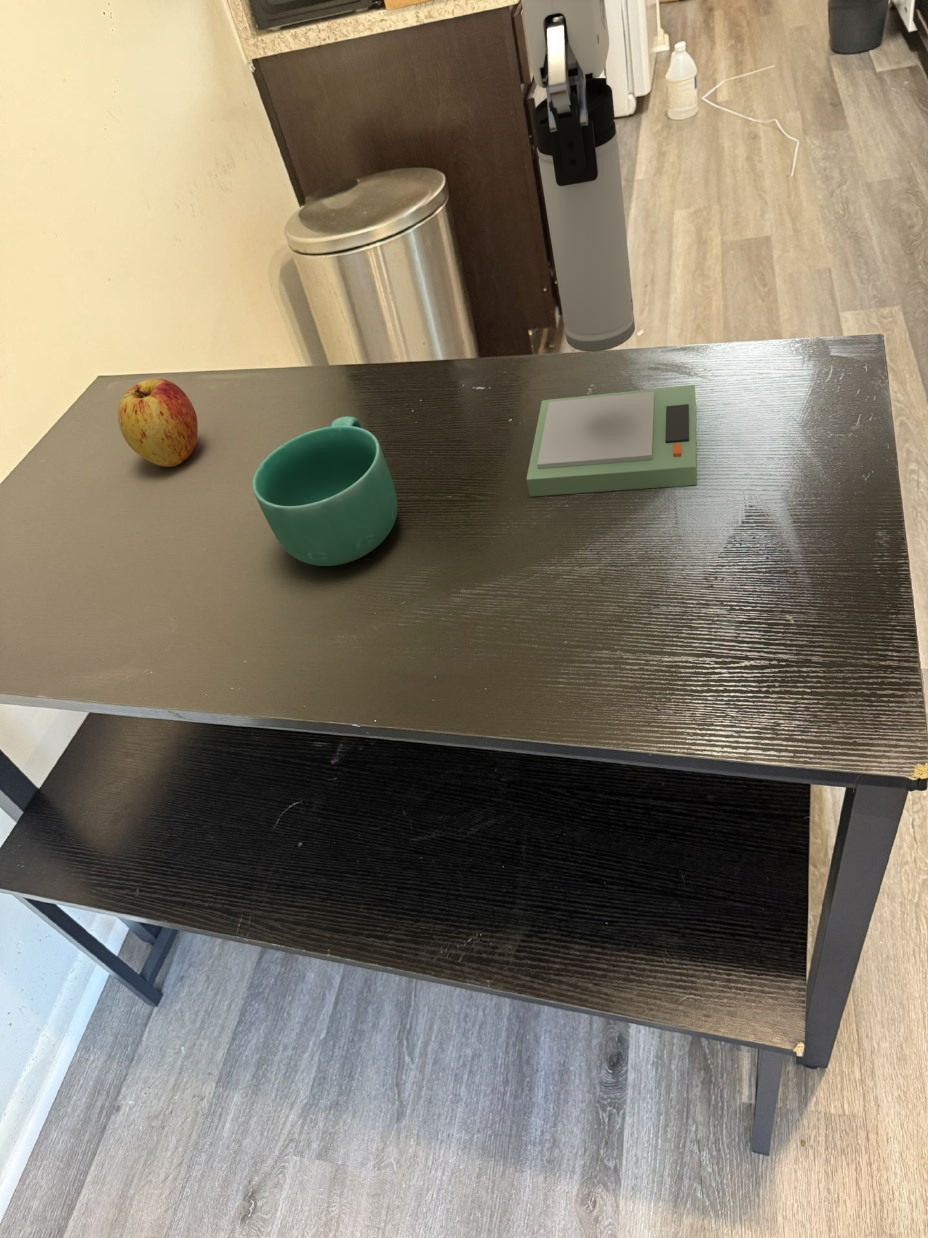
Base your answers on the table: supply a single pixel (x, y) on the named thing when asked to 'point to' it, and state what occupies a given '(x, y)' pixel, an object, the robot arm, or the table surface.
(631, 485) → the scale
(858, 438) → the table surface
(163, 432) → the apple
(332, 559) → the mug
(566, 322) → the travel mug
